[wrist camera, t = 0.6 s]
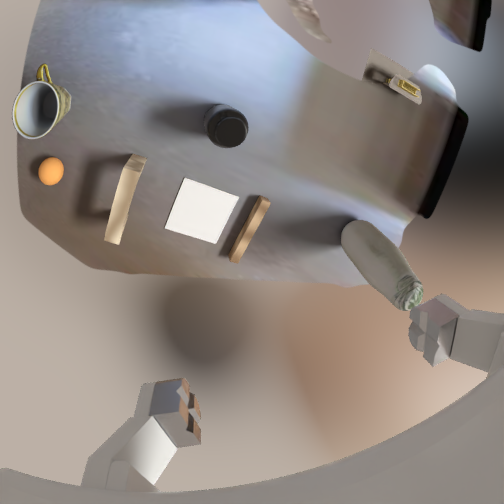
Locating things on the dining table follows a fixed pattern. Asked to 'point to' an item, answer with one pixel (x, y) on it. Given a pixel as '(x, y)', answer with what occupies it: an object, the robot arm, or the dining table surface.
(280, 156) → the dining table surface
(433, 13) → the dining table surface
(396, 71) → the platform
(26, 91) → the ceramic cup
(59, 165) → the ball
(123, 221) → the bridge
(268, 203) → the rail
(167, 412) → the robot arm
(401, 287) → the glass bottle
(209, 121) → the supplement bottle
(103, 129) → the dining table surface
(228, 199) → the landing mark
